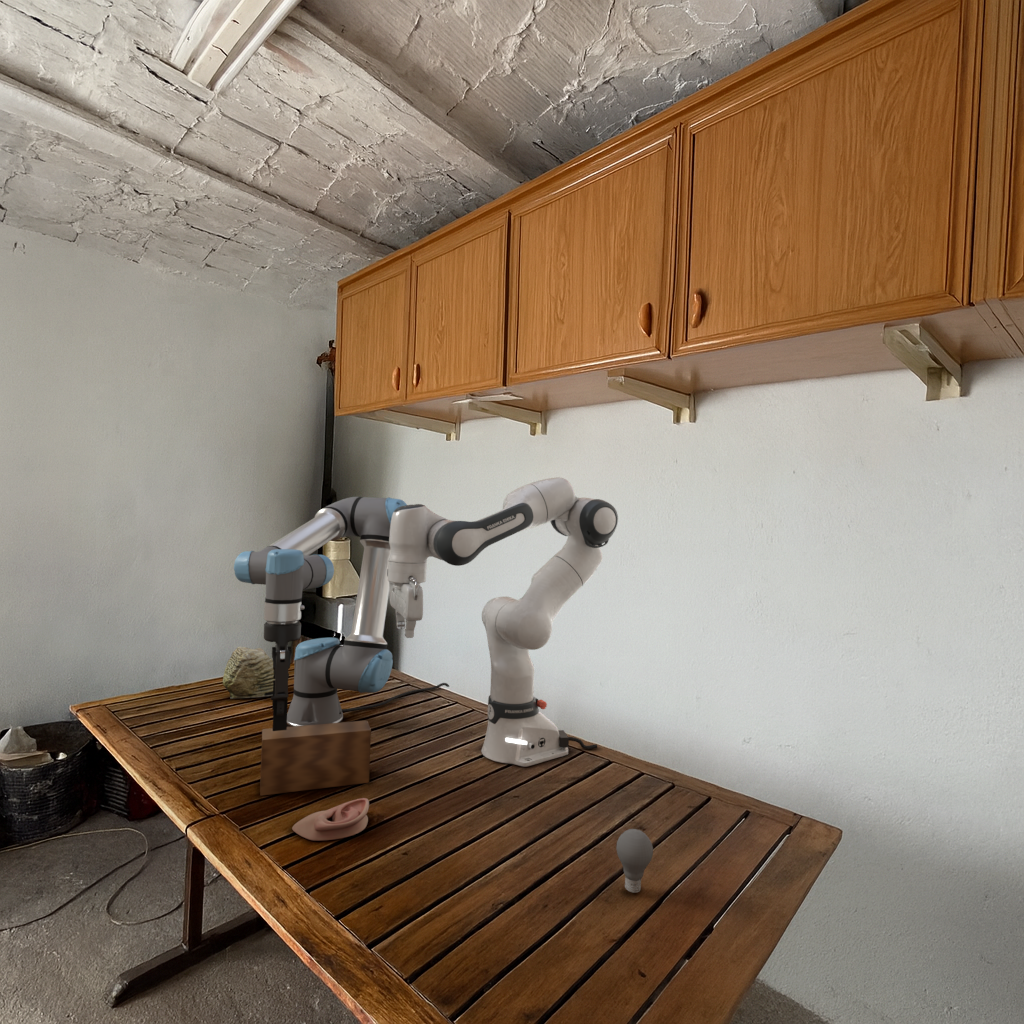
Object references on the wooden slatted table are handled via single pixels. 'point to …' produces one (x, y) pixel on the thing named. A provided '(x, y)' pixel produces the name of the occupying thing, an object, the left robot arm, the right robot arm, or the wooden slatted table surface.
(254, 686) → the fossil
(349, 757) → the box
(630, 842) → the light bulb
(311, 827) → the anatomical model
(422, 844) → the wooden slatted table surface
